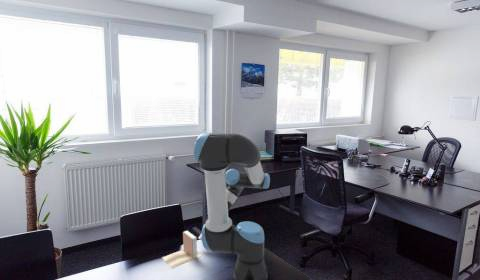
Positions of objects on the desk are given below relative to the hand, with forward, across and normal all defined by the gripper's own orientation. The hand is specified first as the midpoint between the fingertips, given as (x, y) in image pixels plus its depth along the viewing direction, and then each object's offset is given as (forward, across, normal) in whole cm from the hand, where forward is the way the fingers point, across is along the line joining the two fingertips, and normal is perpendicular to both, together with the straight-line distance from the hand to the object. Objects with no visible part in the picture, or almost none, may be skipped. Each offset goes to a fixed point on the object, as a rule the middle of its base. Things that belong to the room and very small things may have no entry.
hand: (200, 239), depth 151 cm
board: (+12, 0, +3) cm, 12 cm away
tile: (+8, 0, +1) cm, 8 cm away
